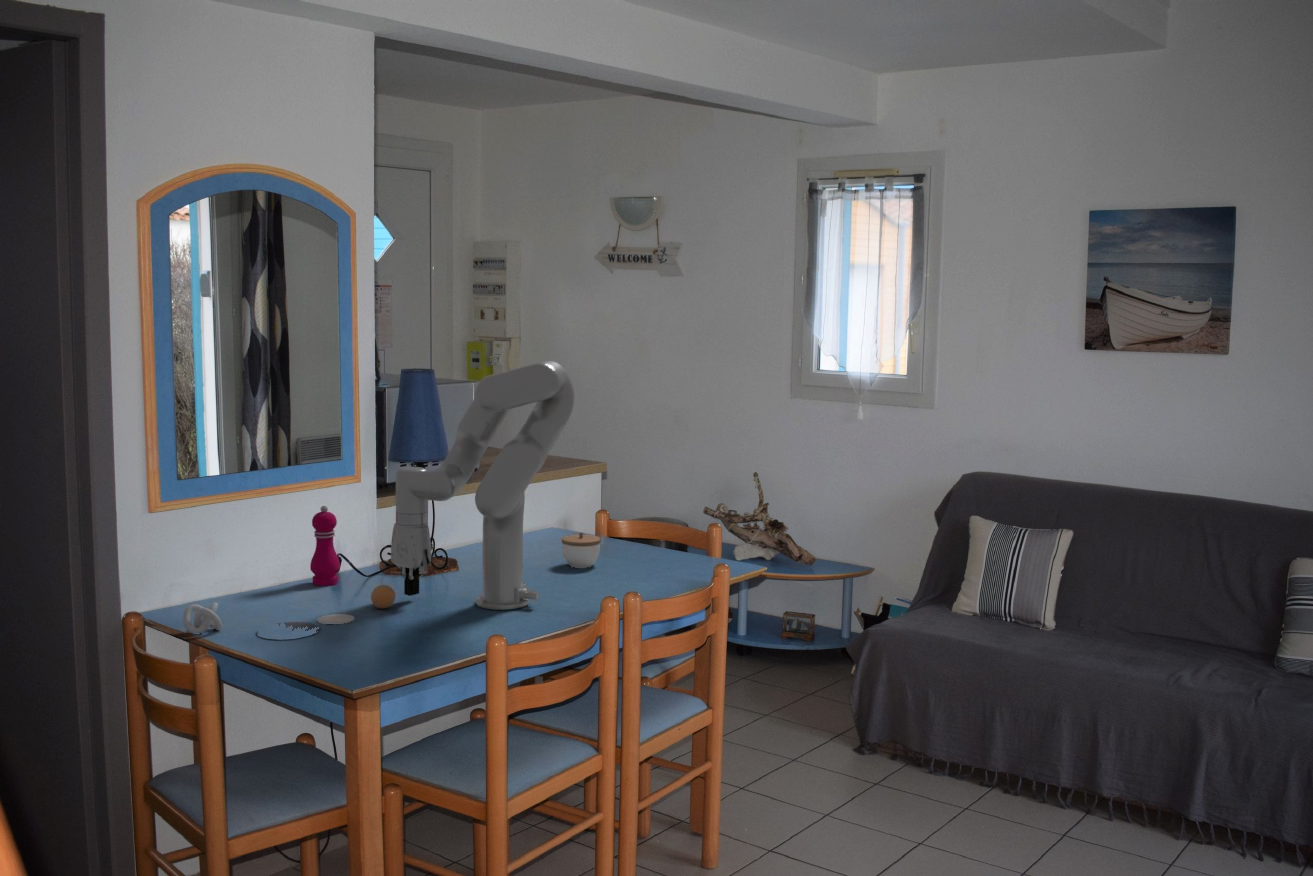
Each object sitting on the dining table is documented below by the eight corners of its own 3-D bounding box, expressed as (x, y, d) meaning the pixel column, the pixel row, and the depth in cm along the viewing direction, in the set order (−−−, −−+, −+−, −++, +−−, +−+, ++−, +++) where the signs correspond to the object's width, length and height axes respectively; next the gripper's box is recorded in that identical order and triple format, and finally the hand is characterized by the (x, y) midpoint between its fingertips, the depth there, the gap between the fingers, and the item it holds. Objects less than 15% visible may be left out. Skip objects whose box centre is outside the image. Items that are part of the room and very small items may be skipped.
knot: (192, 625, 238) (191, 599, 238) (230, 625, 239) (229, 599, 238) (180, 635, 231) (179, 609, 230) (218, 635, 231) (218, 608, 231)
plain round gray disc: (361, 616, 247) (361, 615, 247) (342, 626, 239) (342, 625, 239) (329, 613, 249) (329, 612, 249) (310, 623, 241) (310, 622, 241)
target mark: (331, 625, 240) (331, 624, 240) (298, 642, 227) (298, 641, 227) (278, 620, 243) (278, 620, 243) (243, 637, 230) (243, 636, 230)
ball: (399, 606, 256) (399, 583, 256) (388, 612, 251) (388, 589, 250) (378, 604, 258) (378, 581, 257) (366, 610, 252) (366, 587, 252)
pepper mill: (346, 581, 279) (344, 504, 276) (328, 587, 272) (327, 509, 270) (322, 578, 281) (320, 502, 279) (304, 585, 274) (303, 507, 272)
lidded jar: (607, 564, 302) (608, 531, 301) (585, 572, 293) (585, 538, 292) (576, 559, 308) (577, 527, 307) (553, 566, 299) (553, 533, 298)
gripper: (379, 516, 261) (379, 591, 263) (419, 525, 251) (418, 603, 253) (405, 512, 266) (405, 585, 268) (444, 521, 257) (444, 597, 259)
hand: (411, 594), depth 261 cm, fingers closed
